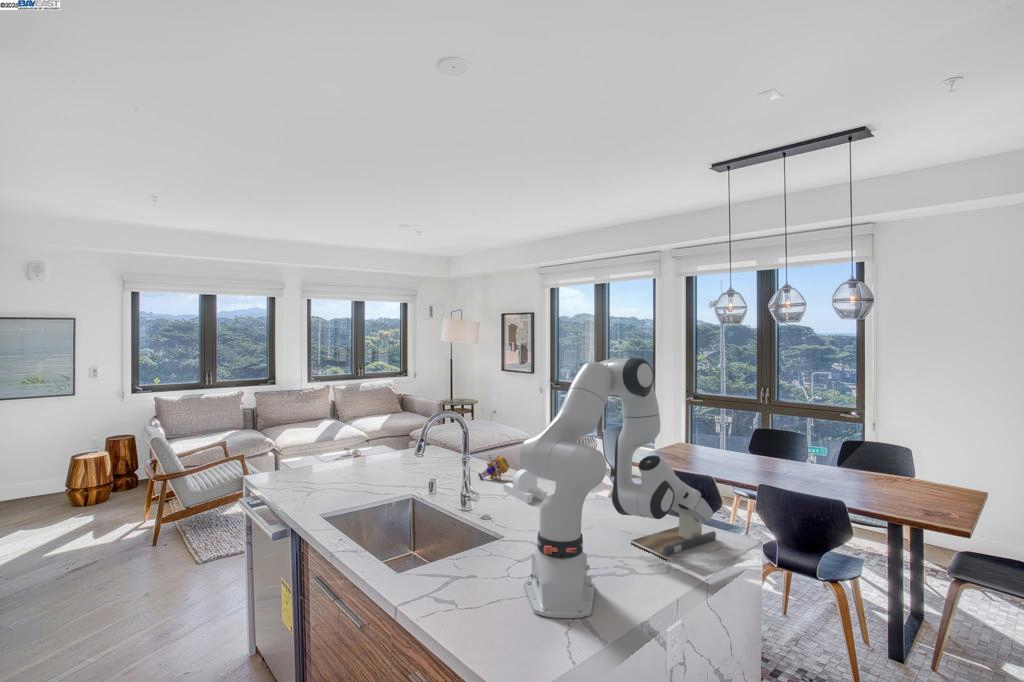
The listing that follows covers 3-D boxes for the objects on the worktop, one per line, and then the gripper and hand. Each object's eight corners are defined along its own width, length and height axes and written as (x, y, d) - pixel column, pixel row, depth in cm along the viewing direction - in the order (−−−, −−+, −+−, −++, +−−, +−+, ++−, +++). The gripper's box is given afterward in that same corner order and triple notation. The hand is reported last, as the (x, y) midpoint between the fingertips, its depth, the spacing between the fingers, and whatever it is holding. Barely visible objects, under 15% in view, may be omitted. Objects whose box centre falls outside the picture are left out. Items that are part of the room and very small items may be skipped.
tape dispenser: (503, 492, 217) (503, 466, 217) (522, 489, 223) (522, 463, 223) (527, 504, 202) (527, 476, 202) (547, 500, 207) (547, 473, 207)
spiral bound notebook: (715, 544, 165) (715, 539, 165) (665, 561, 152) (665, 556, 152) (680, 530, 176) (680, 525, 176) (630, 544, 163) (631, 540, 163)
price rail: (716, 540, 164) (716, 532, 164) (666, 556, 151) (666, 548, 151) (713, 538, 165) (713, 531, 165) (663, 555, 152) (663, 546, 152)
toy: (472, 463, 237) (499, 446, 236) (478, 465, 244) (504, 449, 243) (484, 489, 231) (512, 472, 230) (490, 490, 238) (517, 474, 237)
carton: (691, 540, 163) (692, 509, 163) (678, 535, 168) (679, 505, 168) (701, 537, 166) (702, 507, 166) (689, 532, 170) (689, 502, 170)
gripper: (642, 492, 169) (662, 516, 175) (694, 510, 152) (714, 536, 158) (652, 476, 172) (670, 500, 177) (704, 492, 155) (723, 519, 160)
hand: (691, 517), depth 167 cm, fingers closed on carton, 5 cm apart
